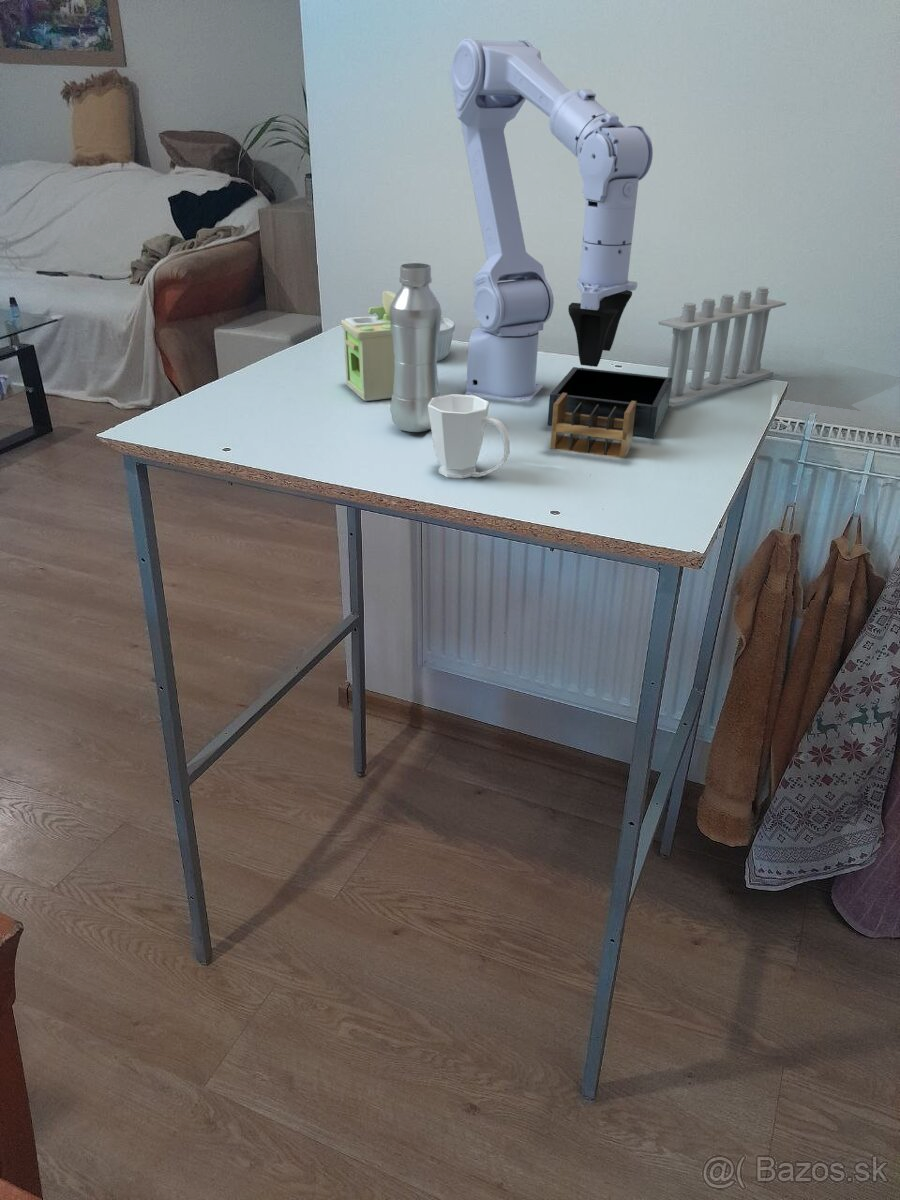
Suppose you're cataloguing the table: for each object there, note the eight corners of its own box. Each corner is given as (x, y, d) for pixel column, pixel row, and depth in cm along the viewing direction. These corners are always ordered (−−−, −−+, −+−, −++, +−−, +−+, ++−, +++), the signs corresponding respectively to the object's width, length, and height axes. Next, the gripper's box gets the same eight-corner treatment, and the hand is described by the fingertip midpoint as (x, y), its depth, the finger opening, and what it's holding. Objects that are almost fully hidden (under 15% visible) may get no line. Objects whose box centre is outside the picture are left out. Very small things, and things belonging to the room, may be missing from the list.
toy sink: (341, 385, 136) (337, 292, 130) (389, 380, 139) (388, 288, 132) (360, 402, 129) (357, 305, 123) (410, 397, 132) (409, 301, 125)
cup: (448, 455, 112) (449, 389, 108) (521, 474, 108) (525, 405, 104) (414, 474, 107) (414, 405, 103) (490, 494, 102) (493, 422, 98)
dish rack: (549, 452, 114) (553, 403, 111) (559, 440, 118) (562, 392, 115) (624, 462, 111) (629, 413, 108) (630, 449, 115) (636, 400, 112)
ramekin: (461, 363, 147) (462, 329, 144) (390, 366, 145) (390, 332, 142) (446, 345, 157) (446, 312, 154) (379, 347, 154) (379, 315, 152)
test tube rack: (673, 408, 129) (687, 310, 123) (647, 401, 132) (659, 304, 125) (773, 376, 144) (790, 286, 137) (748, 369, 147) (763, 282, 140)
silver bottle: (448, 424, 122) (451, 263, 112) (430, 441, 117) (431, 273, 107) (402, 418, 124) (400, 259, 114) (382, 434, 118) (379, 268, 108)
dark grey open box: (547, 429, 121) (549, 394, 119) (570, 399, 132) (573, 366, 130) (653, 443, 117) (657, 407, 115) (668, 410, 128) (672, 377, 126)
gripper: (630, 254, 103) (616, 376, 110) (651, 235, 115) (637, 346, 122) (567, 249, 105) (557, 369, 112) (594, 230, 117) (584, 340, 124)
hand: (595, 357), depth 117 cm, fingers open, 7 cm apart
